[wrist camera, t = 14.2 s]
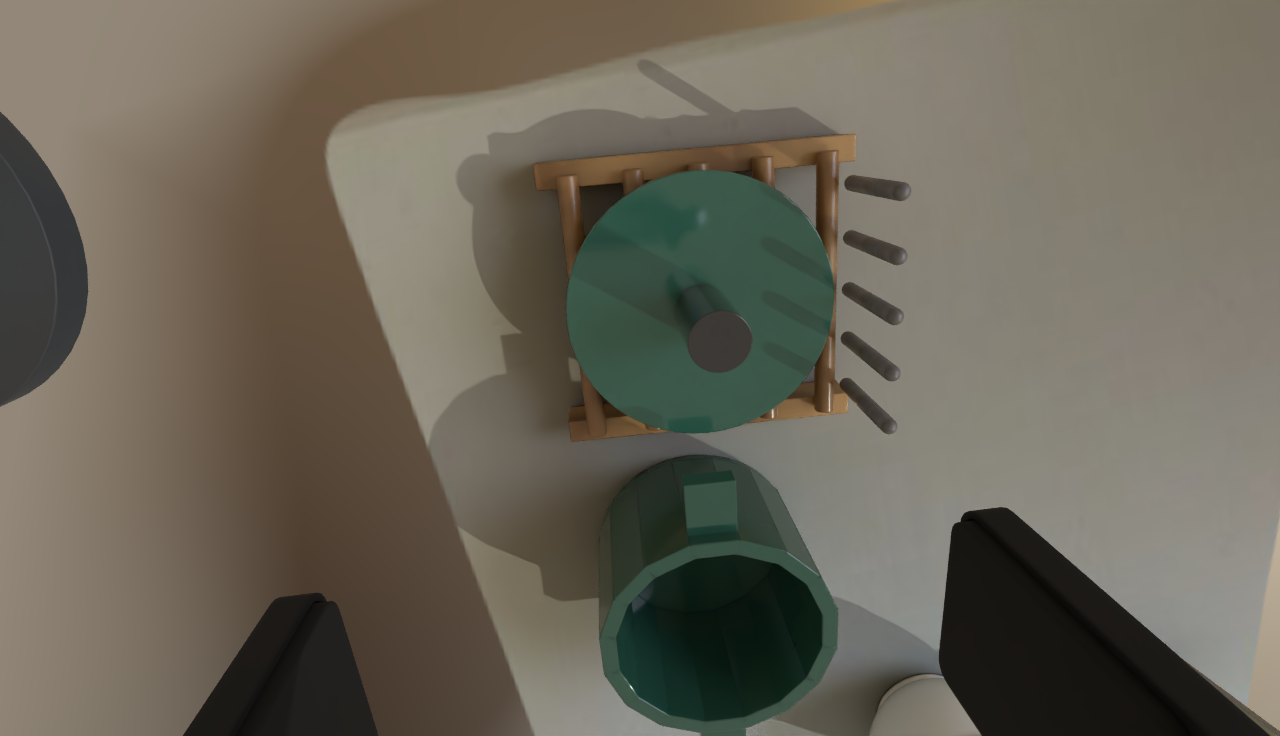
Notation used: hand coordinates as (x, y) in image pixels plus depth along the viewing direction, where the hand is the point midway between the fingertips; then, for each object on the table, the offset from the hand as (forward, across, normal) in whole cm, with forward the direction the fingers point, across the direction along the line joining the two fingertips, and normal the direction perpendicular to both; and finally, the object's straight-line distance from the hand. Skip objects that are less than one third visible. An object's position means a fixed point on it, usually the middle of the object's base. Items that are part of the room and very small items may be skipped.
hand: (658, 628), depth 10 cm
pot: (+25, -4, +16) cm, 30 cm away
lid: (+21, -4, +1) cm, 22 cm away
